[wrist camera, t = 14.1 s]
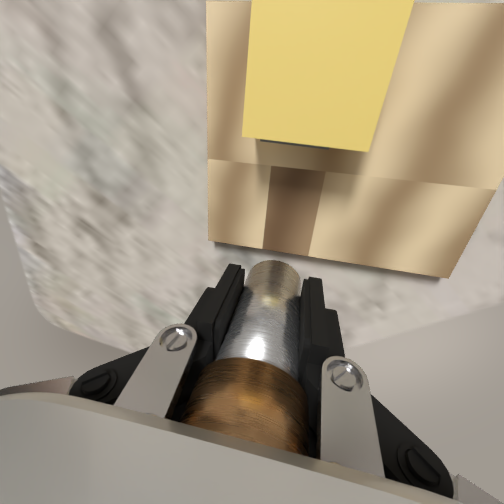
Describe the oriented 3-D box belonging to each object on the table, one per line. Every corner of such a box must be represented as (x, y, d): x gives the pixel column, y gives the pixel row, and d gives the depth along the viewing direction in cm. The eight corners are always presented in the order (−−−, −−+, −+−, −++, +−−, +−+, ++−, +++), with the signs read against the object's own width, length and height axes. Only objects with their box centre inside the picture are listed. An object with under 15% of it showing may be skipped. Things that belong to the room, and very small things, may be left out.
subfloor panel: (573, 14, 13) (597, 4, 12) (441, 270, 20) (448, 278, 19) (213, 9, 16) (206, 0, 15) (212, 235, 23) (208, 240, 22)
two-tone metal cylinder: (305, 253, 11) (306, 535, 4) (308, 310, 13) (313, 596, 5) (236, 255, 12) (113, 490, 4) (246, 308, 14) (168, 554, 6)
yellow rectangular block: (387, 32, 14) (414, -2, 10) (354, 150, 16) (367, 155, 13) (265, 25, 15) (252, -8, 11) (254, 137, 17) (241, 139, 14)
